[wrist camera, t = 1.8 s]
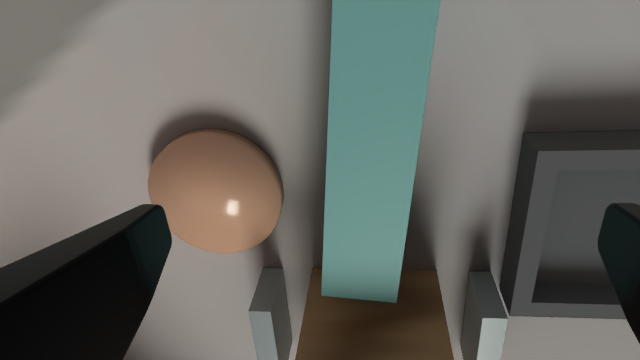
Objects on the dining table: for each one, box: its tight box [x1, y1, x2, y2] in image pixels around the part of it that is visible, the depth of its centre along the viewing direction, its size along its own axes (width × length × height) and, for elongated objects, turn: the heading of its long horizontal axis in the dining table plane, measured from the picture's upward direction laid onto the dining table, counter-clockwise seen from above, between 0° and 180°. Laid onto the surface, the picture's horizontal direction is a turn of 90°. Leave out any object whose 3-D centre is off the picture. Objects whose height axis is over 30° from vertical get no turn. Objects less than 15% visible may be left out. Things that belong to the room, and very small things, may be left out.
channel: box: [249, 268, 508, 360], centre depth 21 cm, size 11×5×3 cm, turn 94°
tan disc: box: [148, 129, 284, 253], centre depth 20 cm, size 6×6×1 cm
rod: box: [321, 0, 440, 303], centre depth 17 cm, size 3×12×4 cm, turn 179°
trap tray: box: [500, 130, 640, 319], centre depth 18 cm, size 8×8×2 cm
